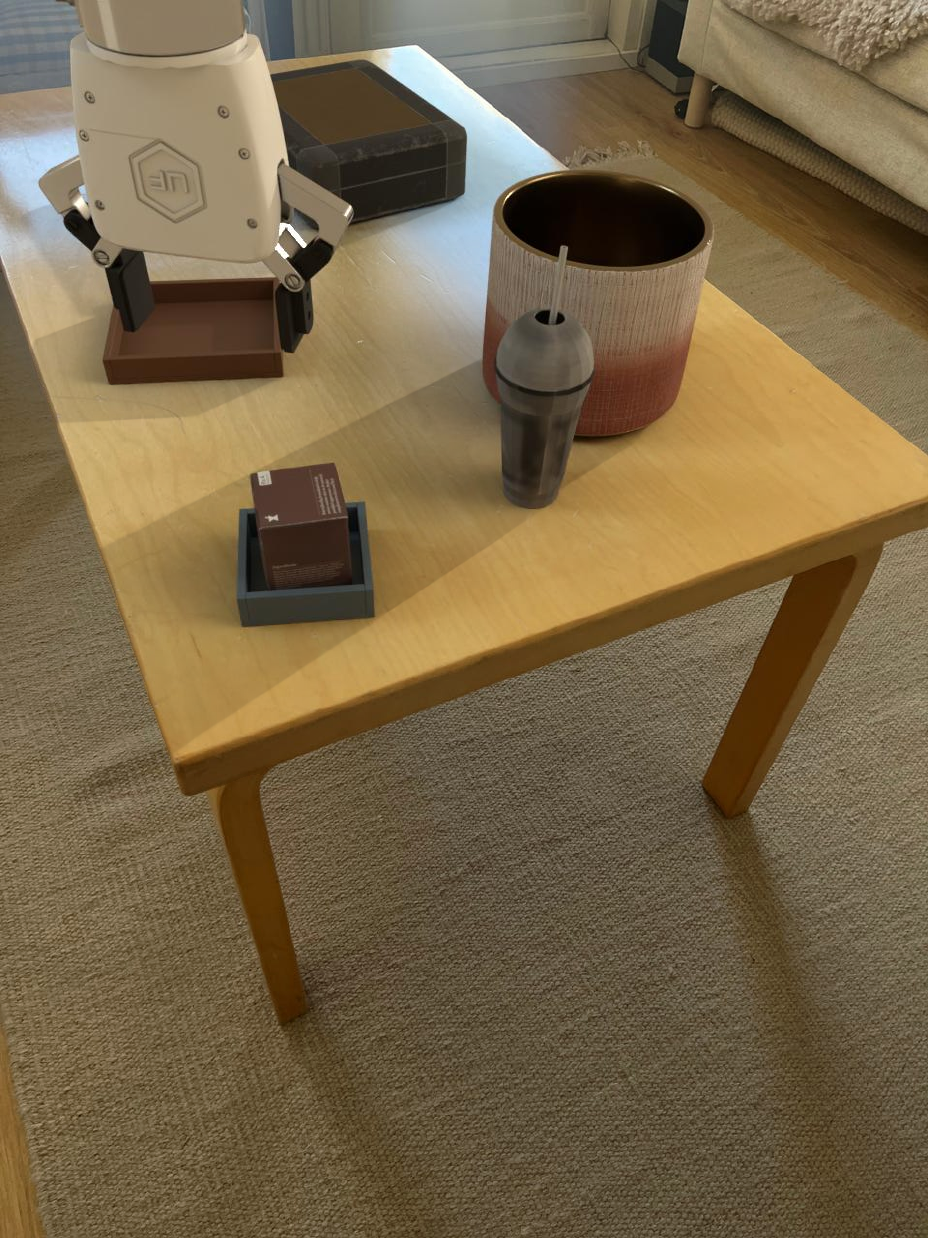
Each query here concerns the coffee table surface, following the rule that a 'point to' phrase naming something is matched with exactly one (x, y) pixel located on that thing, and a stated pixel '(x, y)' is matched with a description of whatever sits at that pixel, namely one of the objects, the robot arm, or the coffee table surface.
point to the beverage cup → (541, 397)
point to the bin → (303, 602)
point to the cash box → (369, 139)
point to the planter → (604, 283)
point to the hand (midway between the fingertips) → (217, 330)
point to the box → (302, 527)
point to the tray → (199, 333)
